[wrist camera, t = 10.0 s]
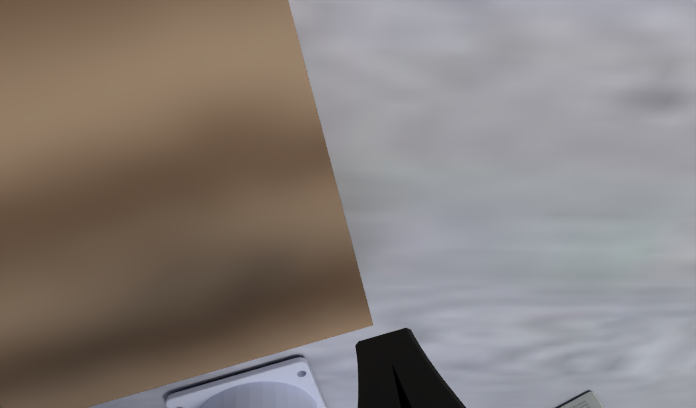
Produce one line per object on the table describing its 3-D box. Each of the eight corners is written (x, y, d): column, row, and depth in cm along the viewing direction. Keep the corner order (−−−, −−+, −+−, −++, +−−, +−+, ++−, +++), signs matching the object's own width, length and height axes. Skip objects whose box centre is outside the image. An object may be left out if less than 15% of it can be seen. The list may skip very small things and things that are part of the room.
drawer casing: (360, 280, 22) (373, 325, 20) (50, 368, 22) (23, 425, 19) (239, -174, 12) (235, -201, 10) (-337, -34, 12) (-497, -25, 9)
